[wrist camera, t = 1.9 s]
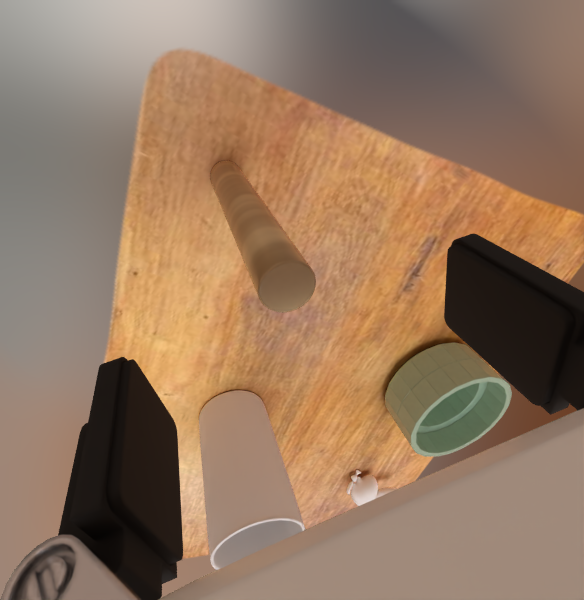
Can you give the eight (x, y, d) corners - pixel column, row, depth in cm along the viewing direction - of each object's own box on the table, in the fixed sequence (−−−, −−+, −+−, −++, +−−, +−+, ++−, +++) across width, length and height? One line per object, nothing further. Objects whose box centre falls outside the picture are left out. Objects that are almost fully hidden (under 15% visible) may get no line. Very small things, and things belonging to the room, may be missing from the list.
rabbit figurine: (369, 458, 47) (410, 496, 48) (352, 452, 51) (391, 488, 52) (344, 501, 45) (388, 540, 46) (329, 492, 48) (370, 529, 49)
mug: (185, 401, 33) (197, 546, 23) (258, 377, 34) (298, 506, 24) (216, 463, 38) (235, 598, 29) (277, 441, 39) (315, 564, 30)
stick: (205, 165, 23) (251, 272, 11) (236, 156, 23) (311, 252, 12) (216, 196, 24) (266, 320, 13) (245, 187, 24) (320, 302, 13)
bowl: (378, 360, 37) (410, 405, 32) (475, 323, 39) (520, 361, 34) (383, 425, 44) (411, 470, 39) (466, 391, 45) (502, 431, 40)
